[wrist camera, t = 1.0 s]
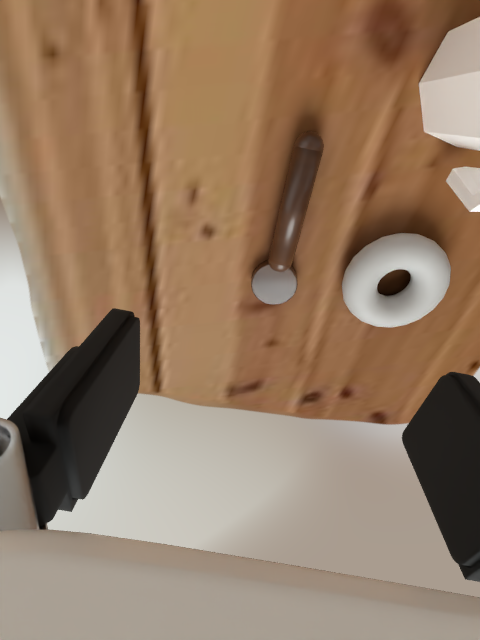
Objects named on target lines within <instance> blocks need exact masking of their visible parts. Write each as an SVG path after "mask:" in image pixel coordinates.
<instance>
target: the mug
mask: <svg viewBox="0 0 480 640" xmlns="http://www.w3.org/2000/svg"><path fill="white" fill-rule="evenodd" d="M419 90H420V99H421V109H422V118H423V127H424V132H426V133H428V134H430V135H432V136H434V137H437V138H439V139H441V140H443V141H445V142H447V143H450V144H452V145H454V146H456V147H461V148H467V149H473V150H479V151H480V17H478V18H476V19H474V20H472V21H469V22H467V23H465V24H463V25H461V26H459V27H457V28H455V29H452V30H450V31H448V33H447V34H446V36H445V38H444V40H443V42H442V43H441V45H440V47H439V49H438V50H437V52H436V54H435V56H434V57H433V59H432V61H431V63H430V65H429V66H428V68H427V70H426V72H425V73H424V75H423V77H422V79H421V81H420V82H419ZM446 182H447V183H448V184H449V186H450V187H451V188H452V190H453V191H454V192H455V193H456V195H457V196H458V197H459V199H460V200H461V201H462V203H463V204H464V205H465V206H466V208H467V209H468V210H469V212H480V168H472V167H461V168H455V169H452V171H451V173H450V175H449V177H448V178H447V180H446Z"/></svg>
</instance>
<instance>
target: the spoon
mask: <svg viewBox="0 0 480 640" xmlns="http://www.w3.org/2000/svg"><path fill="white" fill-rule="evenodd" d="M323 148H324V144H323V140H322V138H321V136H320V135H319V134H318V133H316V132H313V131H307V132H304V133H302V134H301V135H300V136H299V137H298V138H297V140H296V142H295V145H294V149H293V153H292V157H291V162H290V166H289V171H288V175H287V179H286V184H285V188H284V193H283V197H282V201H281V206H280V210H279V215H278V219H277V223H276V228H275V232H274V237H273V241H272V246H271V250H270V254H269V259H268V261H265V262H263V263H261V264H260V265H259V266H258V267H257V268H256V269H255V271H254V273H253V275H252V283H251V285H252V290H253V293H254V294H255V296H256V297H257V298H258V299H259V300H261V301H262V302H264V303H267V304H281V303H284V302H286V301H287V300H289V299H290V298H291V297H292V296H293V295H294V293H295V292H296V289H297V276H296V273H295V271H294V269H293V268H292V266H291V265H292V262H293V258H294V255H295V251H296V248H297V244H298V240H299V237H300V233H301V229H302V226H303V222H304V218H305V215H306V211H307V207H308V204H309V200H310V196H311V193H312V189H313V186H314V182H315V178H316V175H317V171H318V167H319V164H320V160H321V156H322V153H323Z"/></svg>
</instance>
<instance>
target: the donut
mask: <svg viewBox="0 0 480 640" xmlns="http://www.w3.org/2000/svg"><path fill="white" fill-rule="evenodd" d="M397 269H404V270H407V271H408V272H409V273H410V274H411V280H410V282H409V284H408V285H407V287H406V288H405V289H404V290H402V291H401V292H399V293H397V294H395V295H390V296H384V295H381V294H379V293H378V290H377V286H378V282H379V281H380V280H381V278H382V277H383V276H385V275H386V274H387V273H389V272H391V271H393V270H397ZM450 272H451V266H450V264H449V261H448V258H447V255H446V253H445V252H444V251H443V249H442V248H441V247H440V246H439V245H438V244H437V243H436V242H435V241H433V240H431V239H428V238H426V237H424V236H421V235H419V234H410V233H397V234H393V235H389V236H384V237H381V238H379V239H378V240H376V241H374V242H372V243H370V244H368V245H366V246H365V247H364V248H363V249H362V250H361V251H360V252H359V253H358V254H356V255H355V256H354V257H353V259H352V261H351V262H350V264H349V265H348V267H347V269H346V270H345V274H344V278H343V282H342V290H343V298H344V301H345V303H346V305H347V307H348V308H349V310H350V312H351V313H352V314H353V315H355V316H356V317H357V318H358V319H360V320H361V321H363V322H365V323H368V324H371V325H373V326H378V327H396V326H402V325H406V324H409V323H411V322H414V321H416V320H419V319H420V318H422V317H423V316H425V315H426V314H428V313H429V312H430V311H432V310H433V309H434V308H435V307H436V306H437V304H438V303H439V302H440V301H441V300H442V299H443V297H444V295H445V293H446V291H447V288H448V286H449V283H450Z"/></svg>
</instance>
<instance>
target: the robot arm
mask: <svg viewBox="0 0 480 640" xmlns="http://www.w3.org/2000/svg"><path fill="white" fill-rule="evenodd" d="M139 385H140V320H139V318H136V317H134V313H133V312H131V311H125V310H120V309H112V310H111V311H110V312H109V313H108V314H107V315H106V316H105V318H104V319H103V320H102V321H101V322H100V323H99V325H98V326H97V327H96V328H95V329H94V330H93V331H92V333H91V334H90V335H89V336H88V337H87V338H86V339H85V341H84V342H83V343H82V344H81V345H80V346H79V347H77V346H76V347H73V348H71V349H70V350H69V351H68V352H67V353H66V354H65V355H64V357H63V358H62V359H61V360H60V361H59V362H58V363H57V364H56V365H55V367H54V368H53V369H52V370H51V371H50V372H49V373H48V374H47V376H46V377H45V378H44V379H43V380H42V381H41V382H40V383H39V384H38V386H37V387H36V388H35V389H34V390H33V391H32V392H31V393H30V394H29V396H28V397H27V398H26V399H25V400H24V401H23V403H21V404H20V406H19V407H18V408H17V409H16V410H15V411H14V412H13V413H12V414H11V416H10V417H9V418H8V419H7V420H6V419H3V418H0V640H480V598H479V597H474V596H469V595H463V594H457V593H452V592H445V591H440V590H434V589H428V588H423V587H417V586H411V585H406V584H399V583H394V582H388V581H382V580H376V579H370V578H365V577H359V576H353V575H347V574H341V573H335V572H329V571H323V570H317V569H311V568H306V567H300V566H294V565H288V564H282V563H276V562H270V561H263V560H257V559H252V558H245V557H239V556H233V555H227V554H221V553H215V552H209V551H203V550H197V549H191V548H185V547H179V546H172V545H167V544H160V543H153V542H146V541H139V540H132V539H125V538H118V537H111V536H104V535H98V534H91V533H80V532H68V531H58V530H48V527H47V522H49V521H51V520H52V519H53V518H54V516H55V514H56V512H57V510H65V511H71V512H72V510H73V508H74V506H75V504H76V502H77V500H78V499H84V498H85V497H86V496H87V494H88V493H89V490H90V489H91V487H92V484H93V482H94V480H95V478H96V476H97V474H98V472H99V470H100V468H101V466H102V464H103V462H104V460H105V458H106V456H107V454H108V452H109V450H110V448H111V446H112V444H113V442H114V440H115V438H116V436H117V434H118V432H119V430H120V428H121V426H122V424H123V422H124V420H125V418H126V416H127V414H128V412H129V410H130V408H131V405H132V404H133V402H134V400H135V398H136V395H137V393H138V390H139ZM402 441H403V444H404V446H405V449H406V451H407V454H408V456H409V458H410V461H411V463H412V465H413V468H414V470H415V472H416V475H417V477H418V479H419V482H420V484H421V486H422V489H423V491H424V493H425V496H426V498H427V500H428V502H429V505H430V507H431V510H432V512H433V514H434V517H435V519H436V521H437V523H438V526H439V528H440V531H441V533H442V535H443V538H444V540H445V542H446V545H447V547H448V549H449V551H450V554H451V556H452V558H453V559H454V561H455V562H456V563H458V564H459V566H460V569H461V571H462V573H463V576H464V577H465V579H467V580H473V581H479V582H480V383H479V381H478V380H477V379H476V378H475V377H474V376H471V375H467V374H461V373H456V372H450V373H448V374H446V375H444V376H442V377H441V378H440V379H439V380H438V382H437V383H436V385H435V386H434V388H433V389H432V391H431V392H430V394H429V395H428V396H427V398H426V399H425V401H424V402H423V404H422V405H421V407H420V408H419V410H418V411H417V412H416V414H415V415H414V417H413V418H412V420H411V421H410V423H409V424H408V426H407V427H406V429H405V430H404V432H403V435H402Z"/></svg>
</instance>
